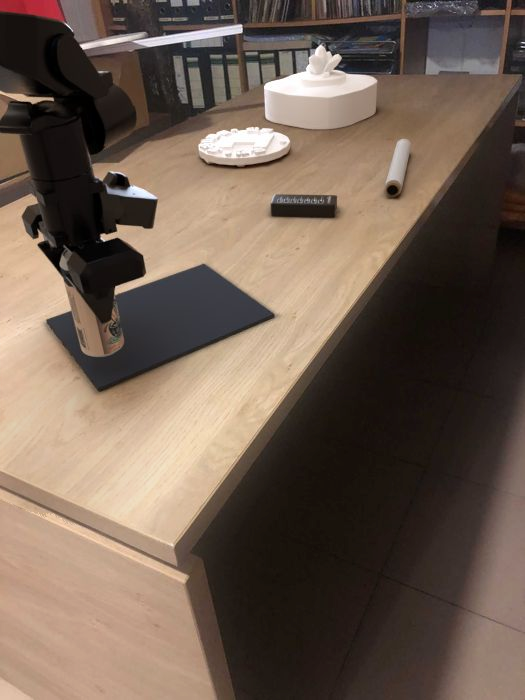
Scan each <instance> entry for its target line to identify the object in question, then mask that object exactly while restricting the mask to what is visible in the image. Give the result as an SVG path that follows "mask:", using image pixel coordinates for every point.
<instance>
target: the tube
mask: <svg viewBox="0 0 525 700" xmlns="http://www.w3.org/2000/svg"><path fill="white" fill-rule="evenodd" d="M411 149H412V143H411V141H410V140H409V139H407V138H401V139H399V140H398V141H397V143H396V145H395V148H394V152H393V155H392V159H391V162H390V166H389V169H388V173H387V177H386V181H385V184H384V192H385V193H386V195H387V196H389V197H391V198H393V197H397V196H398V195H399V194H401V193H402V189H403V185H404V182H405V176H406V171H407V167H408V162H409V158H410V153H411Z"/></svg>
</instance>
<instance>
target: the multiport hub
mask: <svg viewBox="0 0 525 700" xmlns="http://www.w3.org/2000/svg"><path fill="white" fill-rule="evenodd" d="M271 199H272V200H271V202H270V216H271V217H276V218H277V217H282V218H318V219H319V218H323V219H334V218H336V214H337V211H338V196H337V195H335V194H334V195H333V194H292V193H291V194H287V193H286V194H284V193H283V194H281V193H277V194H274V195H273V197H272V198H271Z"/></svg>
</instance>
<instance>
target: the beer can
mask: <svg viewBox="0 0 525 700" xmlns="http://www.w3.org/2000/svg"><path fill="white" fill-rule="evenodd" d="M70 256H71V254H70V253H69V252H68V251H67V250H66V249H65V250H64V252H63V253H62V257H61V260H60V268H61V272H62V276H63V277H62V276H61V277H62V279H63V283H64V288H65V291H66V295H67V299H68V304H69V306H70V311H72V315H73V319H74V323H75V326H76V330H77V334H78V338H79V342H80V346H81V350H82V351H83V352H84V353H85V354H86V355H89V356H93V357H105V356H109V355H111V354H113V353H115V352H116V351H118V350H119V349H121V347H122V346H123V344H124V337H123V332H122V327H121V322H120V318H119V313H118V308H117V303H116V298H115V295H116V294H115V292H114V301H113V310H112V318H111V321H109V322H106V323H104V324H102V323H101V322H100V321H99V320H98V318H97V317H96V316H95V315H94V313H93V312H92V311H91V309H90V308H89V307H88V305H87V304H86V303H85V301H84V300H83V299H82V297H81V296H80V295H79V293H78V292H77V291H76V290H75V288H74V287H73V286H72V284H71V283H70V282H69V281H68V279H67V278H66V276H65V274H68V273H69V270H68V266H67V261H68V259H69V258H70Z"/></svg>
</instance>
